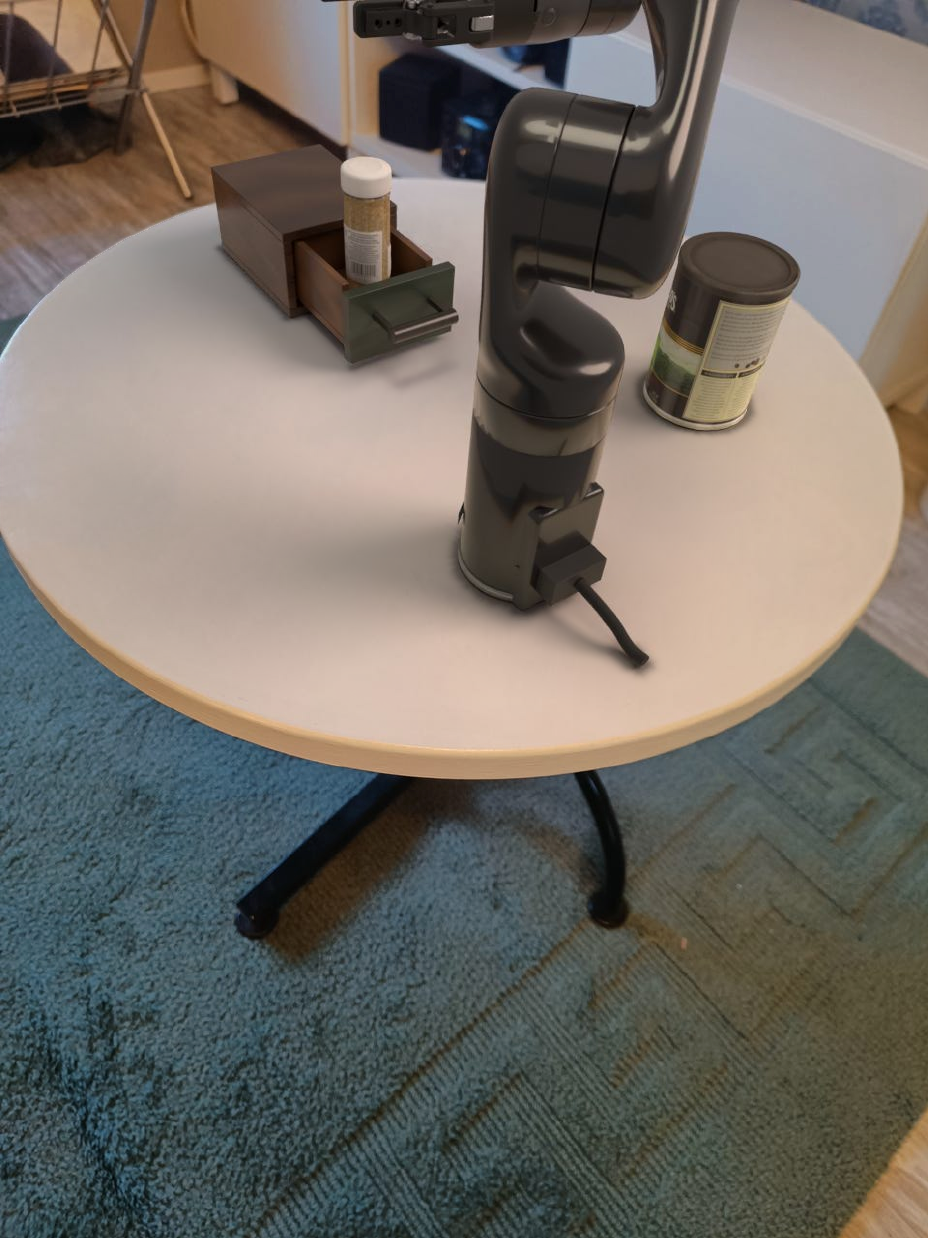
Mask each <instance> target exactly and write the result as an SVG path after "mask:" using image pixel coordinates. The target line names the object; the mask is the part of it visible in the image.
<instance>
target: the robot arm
mask: <svg viewBox="0 0 928 1238" xmlns="http://www.w3.org/2000/svg"><path fill="white" fill-rule="evenodd" d="M320 1H321V2H322V3H334V2H348V1H349V2H350V1H351V2H352V1H353V0H320ZM740 1H741V0H355V2H354V3H353V4H352V30H353V33H354V34H355V35H356V36H357V37H358V38H359V39H372V38H375V39H376V38H387V37H400V36H401V37H402V36H404V38H405V39H407V40H409V41H416V40H420V39H421V40H420V41H421V46H423V47H426V48H428V49H432V48H438V47H447V46H454V45H455V46H456V45H466V44H468V45H469V46H470V47H472V48H473V49H478V50H482V49H483V50H484V49H494V48H495V49H496V48H503V47H504V48H505V47H507V48H508V47H517V46H519V47H520V46H529V45H542V44H549V43H553V42H558V41H561V40H565V39H574V38H584V37H586V38H587V37H595V36H597V37H598V36H605V35H606V36H607V35H613V34H616V33H620V32H621V31H624V30H625V29H627V28H628V27H629V26H630V25H631V24H632V23H633V22H634V20H635V19H637V16H638V14H639V12H640V9H641V6H642V10H643V13H644V16H645V20H646V24H647V31H648V34H649V35H648V36H649V39H650V46H651V51H652V58H653V68H654V80H655V83H654V84H655V86H654V87H655V102H654V103H653V104H651V105H649V106H645V105H641V104H638V105H636V104H635V103H629V102H624V101H621V100H620V101H619V100H614V99H609V98H603V97H599V96H593V95H588V94H582V93H580V94H579V93H576V92H571V91H566V90H560V89H555V88H547V87H539V86H538V87H537V86H535V87H534V86H533V87H528V88H527V87H526V88H524V89H522V90H521V91H519V92H517V93H516V94H515V95H514V96H513V97H512V98H511V99H510V101H509V102H508V103H507V105H506V106H505V109H504V110H503V112H502V114H501V117H500V118H499V120H498V123H497V125H496V129H495V132H494V136H493V137H492V138H493V139H492V143H491V147H490V151H489V156H488V157H489V159H488V164H487V171H486V179H485V189H484V203H483V219H482V220H483V221H482V224H483V227H482V261H481V262H482V266H481V290H480V291H481V292H480V305H479V306H480V308H479V319H478V320H479V321H478V337H477V338H478V339H477V340H478V341H477V342H478V343H477V344H478V350H477V359H476V372H475V381H474V392H473V403H472V412H471V422H470V432H469V433H470V435H469V444H468V454H467V455H468V457H467V467H466V478H465V489H464V490H465V491H464V499H463V502H462V505H461V507H460V509H459V512H458V516H457V525H459V524H460V521H461V519H462V524H461V534H460V535H461V536H460V539H459V543H458V553H457V555H458V563H459V566H460V569H461V570H462V573H463V574H464V575H465V577H466V578H467V580H469V582H470V583H471V584H472V585H474V586H475V587H476V588H477V589H479V590H480V591H482V592H483V593H485V594H487V595H489V596H491V597H494V598H497V599H500V600H504V601H508V602H512V603H513V604H514V605H515V606H516V607H517V608H518V609H520V610H522V611H525V610H527V609H528V608H531V607H532V606H534V605H537V604H538V603H540V602H543V601H545V602H546V603H547V604H548V605H549V607H552V606H554V605H556V604H558V603H559V602H561V601H564V600H565V599H567V598H569V597H572V596H573V595H575V594H577V593H579V594H580V596H582V598H583V599H584V600H585V601H586V602H587V603H588V604H589V605H590V606H591V608H592V609H593V610H594V612H595V613H596V614H597V615H598V616H599V617H600V619H601V620H602V622H604V623H605V625H606V626H607V627H608V629H609V630H610V631H611V633H612V635H613V636H614V638H615V640H616V641H617V643H618V645H619V646H620V647H621V649H622V651H624V653H625V654H626V655H627V656H628V657H629V658H630V659H631V660H632V661H633V662H635V663H636V664H637V665H639V666H640V667H643V666H644V665H645V664H647V663H648V661H649V659H650V656H649V655H648V654H647V653H646V652H644V651H643V650H641V648H639V647H638V646H637V644H636V643H635V642H634V641H633V640H632V638H631V637H630V634H629V633H628V632H627V630H626V627H625V626H624V625H623V624H622V622H621V621H620V619H619V618H618V617H617V614H615V612H614V611H613V610H612V609H611V608H610V607H609V605H608V604H607V603H606V602H605V601H604V599H603V598H602V597H601V596H600V595H599V594H598V593H597V591H595V590H594V588H593V587H592V585H595V584H596V583H598V582H601V580H602V578H603V574H604V571H605V567H606V564H607V560H608V558H607V557H606V556H605V554H603V553H602V552H601V551H600V550H599V549H598V548H597V547H596V546H595V545H594V544H593V539H594V535H595V532H596V528H597V524H598V521H599V520H598V519H599V515H600V512H601V508H602V505H603V500H604V497H605V489H604V488H603V486H601V485H600V484H599V483H598V482H597V477H598V473H599V469H600V464H601V461H602V457H603V453H604V450H605V445H606V441H607V436H608V433H609V429H610V425H611V422H612V416H613V414H614V413H613V412H614V408H615V404H616V401H617V397H618V392H619V388H620V384H621V381H622V376H623V373H624V368H625V362H626V351H625V344H624V342H623V338H622V336H621V334H620V333H619V331H618V330H617V328H616V326H614V325H613V323H612V322H611V321H609V320H608V319H607V318H606V316H604V315H603V314H601V313H600V312H599V311H598V310H596V309H594V308H593V307H592V306H590V305H588V304H587V303H586V302H584V300H583V301H582V300H581V299H580V298H578V297H577V296H576V295H574V294H573V293H572V292H570V291H569V290H568V289H567V288H571V289H576V290H581V291H585V292H588V293H592V292H593V293H595V294H598V295H603V296H610V297H614V298H620V299H626V300H645V299H647V298H650V297H651V296H653V295H655V293H657V292H658V291H659V289H660V288H661V287H662V286H663V285H664V283H665V282H666V280H667V279H668V277H669V274H670V272H671V270H672V268H673V266H674V265H675V261H676V259H677V257H678V255H679V250H680V248H681V246H682V244H683V240H684V237H685V233H686V230H687V226H688V223H689V219H690V216H691V212H692V208H693V203H694V200H695V195H696V190H697V186H698V183H699V179H700V178H699V177H700V173H701V170H702V169H701V168H702V165H703V159H704V155H705V150H706V145H707V141H708V136H709V132H710V127H711V122H712V118H713V113H714V109H715V105H716V100H717V95H718V91H719V87H720V82H721V78H722V77H721V76H722V73H723V68H724V63H725V59H726V54H727V50H728V45H729V41H730V38H731V37H730V36H731V33H732V29H733V25H734V22H735V21H734V20H735V16H736V12H737V10H738V9H737V8H738V6H739V4H740Z"/></svg>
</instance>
